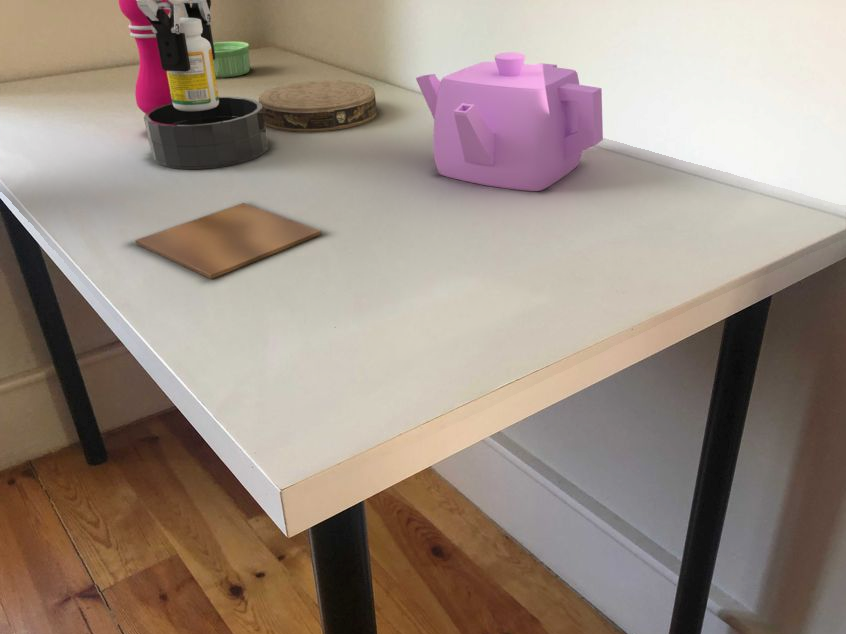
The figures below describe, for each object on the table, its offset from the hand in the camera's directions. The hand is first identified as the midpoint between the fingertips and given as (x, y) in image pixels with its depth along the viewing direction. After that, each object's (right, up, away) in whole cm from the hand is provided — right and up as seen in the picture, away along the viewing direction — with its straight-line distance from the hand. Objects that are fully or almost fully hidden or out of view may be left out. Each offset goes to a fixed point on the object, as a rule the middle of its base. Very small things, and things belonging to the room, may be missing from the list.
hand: (189, 63), depth 92 cm
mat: (+10, -23, -18) cm, 31 cm away
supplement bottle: (0, -4, +3) cm, 5 cm away
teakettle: (+36, -13, -3) cm, 39 cm away
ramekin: (-9, +14, +45) cm, 48 cm away
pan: (+1, -9, +6) cm, 11 cm away
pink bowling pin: (-7, -4, +14) cm, 16 cm away
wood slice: (+12, -1, +19) cm, 22 cm away
